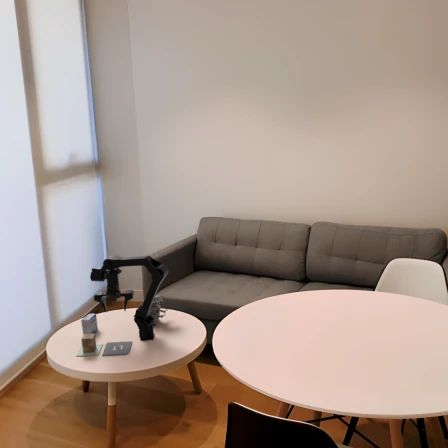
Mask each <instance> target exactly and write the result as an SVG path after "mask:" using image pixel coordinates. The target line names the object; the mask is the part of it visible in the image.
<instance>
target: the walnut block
mask: <svg viewBox="0 0 448 448" xmlns="http://www.w3.org/2000/svg"><path fill="white" fill-rule="evenodd" d="M82 335H83V334H82ZM96 345H97V341H96V333H93V334H84V335H83V336H82V338H81V346H82V347H83V353H88V352H94V351H95V349H96Z"/></svg>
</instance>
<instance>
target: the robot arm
mask: <svg viewBox="0 0 448 448" xmlns="http://www.w3.org/2000/svg"><path fill="white" fill-rule="evenodd" d="M138 266H139V267H140V266H143V267H144V268H146V270H147V271H148V273H149V274H150V275H151V283H150V285H149V288H148V290H147V293H146V295H145V297H146V298H145V297H144V298H145V300H144V299H143V300H144V301H143V303H142V305H141V304H140V305H139V306H138V307H137V308H136V310H135V314H134V315H133V316H132V317H133V321H134V323H135V324H136V326H137V329H138V335H139V336H138V337H139V341H142V342H143V341H154V339H155V336H156V335H155V331H154V326H153V323H154V320H155V319H154V318H153V317H152V316H151V315H150V313H151V305H152V303H153V301H154V298H155V296H156V295H157V293H158V291H159V288H160V286H161V284H162V282H163V281H164V279H165V278H166V276H168V274H169V268H168V266H167V265H165V264H163V263H162V262H160V261H159V260H157V259H155V258H153V257H152V256H150V255H143V256H141V255H140V256H127V257H125V256H124V257H123V256H120V255H113V254H111V255H110V256H108V257H107V258H105V259H104V260H103V261H102V266H101V267H96V266H95V267H94V266H93V267H92V268H91V272H90V275H89V278H90V281H91V282H105V281H106V290H105V291H106V293H105V292H104V291H96V292H95V293H94V295H93V301H94V302H97V303H100V304H101V306H102V308H103V310H104V311H105V313H108V308H107V303H109V302H117V301H118V299H121V298H123V297H124V299H123V301H124V306H123V307H124V308H123V309H124V312H126V310H127V307H128V302H129V301H131V300H132V299H134V296H135V291H134V290H133V289H127V290H125V292H121V289H120V281H119V280H120V279H119V275H120V274H121V273H122V272H123V270H122V269H120V268H122V267H123V268H124V267H138Z"/></svg>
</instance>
